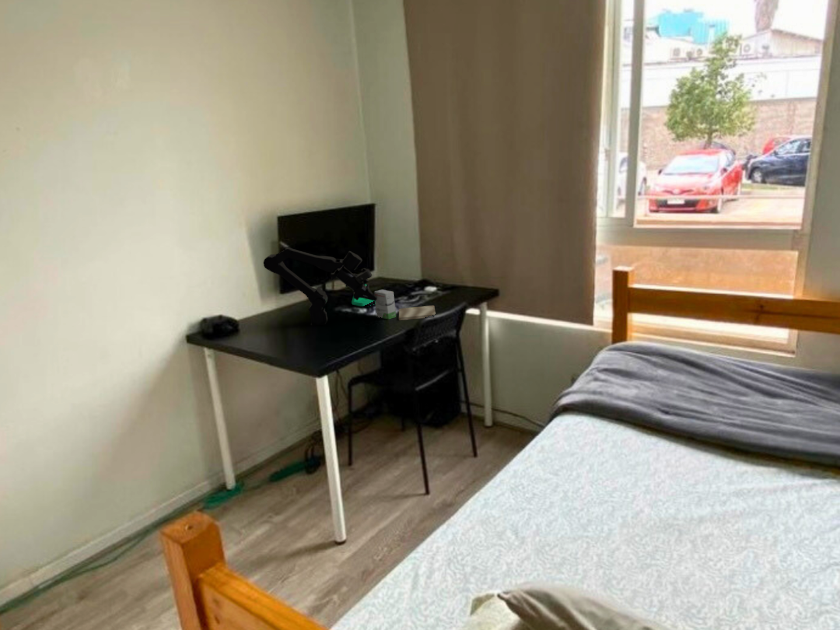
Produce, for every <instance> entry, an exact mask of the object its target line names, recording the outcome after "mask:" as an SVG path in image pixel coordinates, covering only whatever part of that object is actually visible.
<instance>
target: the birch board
mask: <svg viewBox="0 0 840 630" xmlns="http://www.w3.org/2000/svg"><path fill="white" fill-rule="evenodd" d="M435 314H436V309H435V305H425V306H415V307H403V308H399V309H398V320H399V321H407V320H416V319H425V317H428V316H432V315H435Z"/></svg>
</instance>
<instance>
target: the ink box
mask: <svg viewBox="0 0 840 630" xmlns="http://www.w3.org/2000/svg"><path fill="white" fill-rule="evenodd" d="M373 294H374V296H375V297H376V298H377V300H376V301H375V304H374V305H375V310H376V311H375V312H376V317H377V316H378V317H377V318H380V317H381V318H380V319H385V320H391V319H393V318H396V317H397V312H396V303H395V296H394V294H395V293H394V291H391V290H386V289H379V290H375V291H374V292H373Z"/></svg>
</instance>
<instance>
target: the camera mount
mask: <svg viewBox="0 0 840 630" xmlns="http://www.w3.org/2000/svg"><path fill="white" fill-rule="evenodd" d="M365 285H366V286H367V285H368V284H367V283H366V284H365ZM365 285H364V286H365ZM371 302H373V300H369V299H365V298H359V299H358V300H356V299H355V298H354V296H352V300H351V304H352V305H354V306H357V307H364V306H365V305H367V304H369V303H371Z"/></svg>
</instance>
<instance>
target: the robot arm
mask: <svg viewBox="0 0 840 630" xmlns="http://www.w3.org/2000/svg"><path fill="white" fill-rule="evenodd" d="M287 259H291V260H294V261H298V262H302V263H305V264H309V265H313V266H315V267H317V268H318V269H320V270H322V271H324V272H326V273H330V276H331V281H334V280H335V279H338V280H339V281H340V282H342V283H343V284H344V285H345V287H346V288H349V289H350V290H352V293H353V296H354V298H355V299H356V300H358V299H359V298H365V299H369V300H373V301H376V300H377V298H376V297H375V296H374V292H372V290H371V289H370V284H369V280H370V279H371V278H372V276H373V274H372V273H371V270H370V269H369V268H366V267H363V268H361V271H360V273H358V274H357V273H352V272H351V271H355V270H356V269H357V268H358V266H359V265H360V264H362V262H363V258H361V257H360V255H358V254H356V253H354V252H352V251H350V250H349V251H348V252H347V254H346V255H345V257H344V258H341V259H340V258H335V257H333V256H326V255H315V254H312V253H308V252H305V251H301V250H297V249H294V248H292V247H286V248H285V249H284V250H282V251H280V252H277V253H276V254H275V253H274V254H268V256H267V257H265V258H264V260H263V267H264V268H265V269H266V270H268V271H270V272H271V273H273V274H276V275H278V276H280V277H282V278H283V279H284V280H285V281H286V282H288V283H289V284H291V285H292V286H293V287H294V288H296V289H297V290H298V291H299V292H301V293H302V294H304V295H305V297H306V298H307V299H308V301H309V303H311V304H310V306H309V307H308V310H309V311H308V312H309V317H310V320H311V322H310V326H311V327H312V326H321V325H323V326H324V325H326V324H327V323H328V319H329V318H328V314H327V311H326V308H325V306H326V304H327V302H328V299H329V298H328V295H327V293H326V291H325V290H322V288H321V287H320V286H318V287H317V288H315V287H313V286H311V285H309V283H307V282H306V281H304V279H302V278H301V277H299V276H298V275H297V274H296V273H294V272H293V271H292V270H290V269H289V268H288V267H287V266H286V265H285V262H284V261H286V260H287ZM365 284H366V285H367V286H366V285H365ZM364 285H365V286H364ZM353 296H352V297H353Z"/></svg>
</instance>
